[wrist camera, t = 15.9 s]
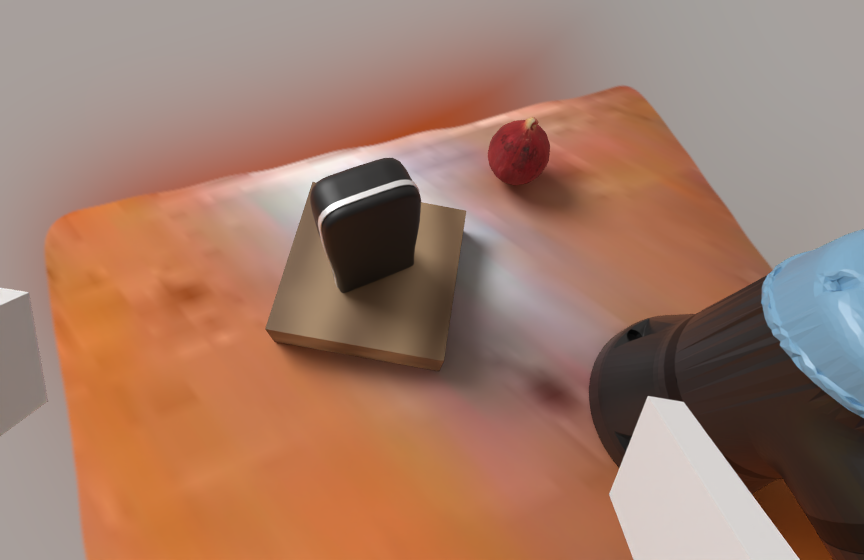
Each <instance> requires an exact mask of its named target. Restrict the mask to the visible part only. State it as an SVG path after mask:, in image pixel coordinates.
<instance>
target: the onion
mask: <svg viewBox="0 0 864 560" xmlns="http://www.w3.org/2000/svg"><path fill="white" fill-rule="evenodd" d="M537 124H538V121H537V119H535V118H534V117H532V118H529V119H526V120H519V121H513V122H511V123H508V124H506V125H504V126H502V127H501V128H500V129H499V130H498V131H497V133H496V134H495V135H494V136H493V137H492V140H491V142H490V146H489V150H488V160H489V165H490V167H491V169H492V171H493V172H494V174H495V175H496V177H498V178H499V179H500V180H502V181H503V182H504V183H508V184H511V185H520V184H526V183H529V182H530V181H532V180H534V179H535V178H537V177H538V176H539V175H540V174H541V173H542V171H543V170H544V168H545V167H546V165H547V163H548V161H549V152H550V144H549V141H548V138H547V135H546V133H545V131H544V130H543V129H542V128H541V127H540V126H539V125H537Z"/></svg>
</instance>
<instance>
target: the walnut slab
mask: <svg viewBox="0 0 864 560" xmlns="http://www.w3.org/2000/svg"><path fill="white" fill-rule="evenodd" d="M315 184H316V183H315V182H312V186H311V189H310V192H309V195H308V198H307V201H306V204H305V207H304V210H303V214H302V217H301V220H300V223H299V226H298V229H297V232H296V235H295V238H294V241H293V245H292V248H291V251H290V254H289V257H288V260H287V263H286V266H285V269H284V273H283V276H282V279H281V282H280V285H279V288H278V291H277V294H276V297H275V300H274V304H273V307H272V310H271V313H270V316H269V319H268V322H267V325H266V328H265V329H266V331H267V332H268V333H269V335H270V336H271V338H272V339H273V340H274V342H279V343H285V344H290V345H296V346H301V347H307V348H313V349H318V350H324V351H329V352H335V353H340V354H346V355H352V356H357V357H363V358H368V359H374V360H380V361H385V362H391V363H396V364H402V365H407V366H413V367H419V368H424V369H430V370H435V371H439V370H440V368H441V366H442V364H443V362H444V357H445V350H446V343H447V337H448V330H449V323H450V317H451V310H452V303H453V296H454V290H455V283H456V276H457V270H458V263H459V256H460V249H461V243H462V236H463V229H464V223H465V216H466V211H465V210H459V209H454V208H449V207H443V206H438V205H433V204H427V203H422V202H421V213H420V223H419V230H418V235H417V241H416V245H415V254H414V265H413V266H411V267H409V268H406V269H404V270H402V271H399V272H397V273H394V274H392V275H389V276H387V277H384V278H382V279H380V280H377V281H374V282H372V283H369V284H367V285H364V286H362V287H359V288H357V289H354V290H351V291H349V292H346V293H342V292H340V290H339V288H337V286H336V284H335V279H334V276H333V272H332V268H331V265H330V263H329V261H328V258H327V256H326V253H325V250H324V247H323V244H322V241H321V238H320V236H319V233H318V230H317V227H316V224H315V221H314V217H313V213H312V208H311V204H310V195H311V191H312V188H313V187H314V185H315Z"/></svg>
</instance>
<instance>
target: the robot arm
mask: <svg viewBox="0 0 864 560" xmlns="http://www.w3.org/2000/svg"><path fill="white" fill-rule="evenodd" d="M47 401H48V399H47V393H46V387H45V382H44V376H43V370H42V364H41V359H40V353H39V347H38V342H37V335H36V330H35V325H34V318H33V312H32V307H31V301H30V295H29V292H24V291H18V290H11V289H5V288H0V436H1V435H2V434H4V433H5V432H6V431H8V430H9V429H11V428H12V427H13V426H15V425H16V424H17V423H19V422H20V421H22V420H23V419H24V418H26V417H27V416H28V415H30V414H31V413H32V412H34V411H35V410H37V409H38V408H39V407H41V406H42V405H43V404H45V403H46V402H47ZM589 401H590V409H591V414H592V418H593V422H594V425H595V428H596V431H597V433H598V435H599V438H600V440H601V442H602V444H603V445H604V447H605V449H606V451H607V452H608V454H609V455H610V457H611V458H612V459H613V461H614V462H615V463H616V464H617V466H618V467H619V471H618V473H617V476H616V478H615V481H614V484H613V486H612V489H611V491H610V494H609V495H610V498H611V501H612V503H613V506H614V509H615V511H616V514H617V517H618V519H619V522H620V525H621V527H622V530H623V533H624V535H625V538H626V541H627V543H628V546H629V548H630V551H631V554H632V556H633V559H634V560H800V559H799V558H798V557H797V555H796V554H795V552H794V551H793V550H792V548H791V547H790V546H789V544H788V543H787V542H786V540H785V539H784V537H783V536H782V535H781V533H780V532H779V531H778V529H777V528H776V527H775V525H774V524H773V523H772V521H771V520H770V518H769V517H768V516H767V514H766V513H765V512H764V510H763V509H762V508H761V506H760V505H759V504H758V502H757V501H756V499H755V498H754V497H753V495H752V493H754V492H756V491H757V490H759V489H761V488H763V487H764V486H766V485H768V484H769V483H771V482H773V481H774V480H776V479H784V481H785V482H786V484H787V485H788V487H789V489H790V490H791V492H792V493H793V495H794V497H795V498H796V500H797V501H798V503H799V505H800V506H801V508H802V509H803V511H804V512H805V514H806V516H807V517H808V519H809V520H810V522H811V523H812V525H813V527H814V528H815V530H816V532H817V534H818V535H819V537H820V539H821V540H822V542H823V544H824V545H825V547H826V548H827V550H828V552H829V553H830V555H831V556H832V558H833V560H864V229H863V230H859V231H855V232H853V233H850V234H847V235H844V236H842V237H840V238H838V239H836V240H834V241H831V242H829V243H827V244H825V245H823V246H821V247H819V248H817V249H815V250H813V251H808V252H804V253H800V254H797V255H795V256H792V257H790V258H788V259H786V260H784V261H783V262H781V263H780V264H778V265H777V266H775V268H774V270H773V271H772V272H770V273H769V274H768V275H767V276H765V277H763V278H761V279H759V280H758V281H756V282H754V283H752V284H750V285H749V286H747V287H745V288H743V289H741V290H739V291H737V292H736V293H734V294H732V295H730V296H728V297H726V298H724V299H722V300H721V301H719V302H717V303H715V304H713V305H711V306H709V307H707V308H706V309H704V310H702V311H700V312H699V313H697V314H684V315H665V316H656V317H652V318H648V319H645V320H642V321H639V322H637V323H634V324H633V325H631V326H629V327H628V328H626V329H624V330H623V331H621V332H620V333H618V334H617V335H615V336H614V337H613V338H612V339H611V340H610V341H609V342H608V343H607V344H606V345H605V346H604V347H603V349H602V350H601V352H600V353H599V355H598V357H597V359H596V361H595V363H594V366H593V369H592V373H591V378H590V385H589Z"/></svg>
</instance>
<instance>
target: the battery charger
mask: <svg viewBox="0 0 864 560" xmlns="http://www.w3.org/2000/svg"><path fill="white" fill-rule="evenodd" d="M310 204H311V208H312V213H313V217H314V221H315V224H316V227H317V230H318V233H319V236H320V238H321V241H322V244H323V247H324V250H325V253H326V256H327V258H328V261H329V263H330V265H331V268H332V272H333V276H334V279H335V284H336V286H337V288H339V290H340V292H342V293H346V292H349V291H351V290H354V289H357V288H359V287H362V286H364V285H367V284H369V283H372V282H374V281H377V280H380V279H382V278H384V277H387V276H389V275H392V274H394V273H397V272H399V271H402V270H404V269H406V268H409V267H411V266H413V265H414V254H415V245H416V241H417V235H418V230H419V223H420V213H421V198H420V194H419V189H418V187H417V186H416V184H415V183H414V182H413V181H412V179H411V178H410V176H409V174H408V172H407V170H406V169H405V168H404V166H403V165H402V164H401V162H400V161H398V160H396V159H393V158H383V159H379V160H375V161H372V162H369V163H366V164H363V165H360V166H356V167H353V168H350V169H348V170H345V171H342V172H339V173H336V174H333V175H330V176H328V177H325V178H323V179H321V180H320V181H318V182H317V183H316V184H315V185H314V187H313V188H312V191H311V195H310Z"/></svg>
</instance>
